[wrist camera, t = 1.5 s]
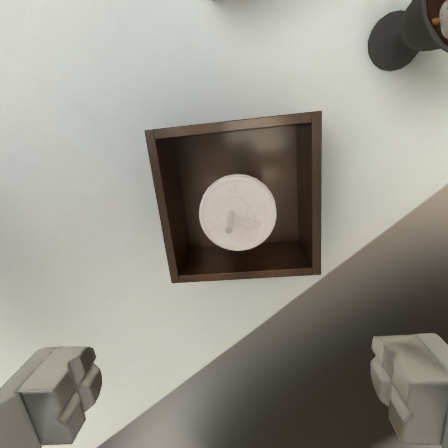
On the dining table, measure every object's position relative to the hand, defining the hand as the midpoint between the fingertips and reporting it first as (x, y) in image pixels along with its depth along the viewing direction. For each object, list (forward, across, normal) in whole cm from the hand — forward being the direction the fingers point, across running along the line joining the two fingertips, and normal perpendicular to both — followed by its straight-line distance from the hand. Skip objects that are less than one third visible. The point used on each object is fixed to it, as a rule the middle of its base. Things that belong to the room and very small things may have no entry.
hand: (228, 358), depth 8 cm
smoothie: (+25, 0, 0) cm, 25 cm away
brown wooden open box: (+25, 0, 0) cm, 25 cm away
